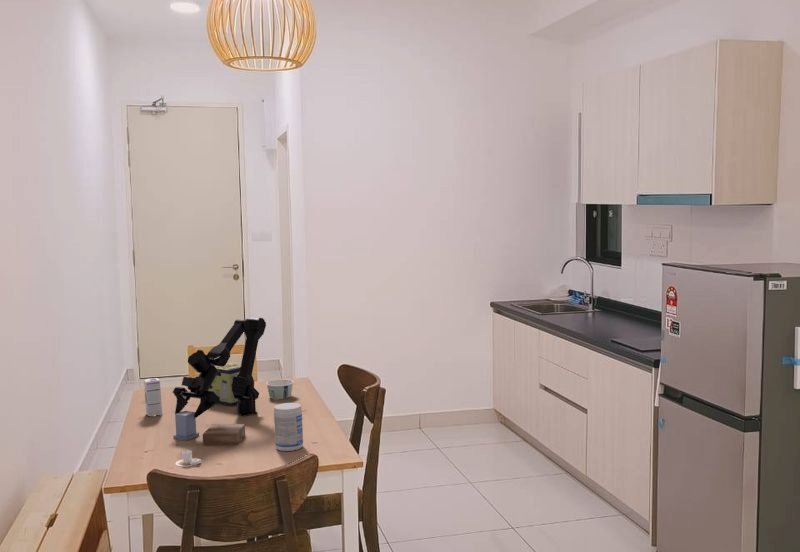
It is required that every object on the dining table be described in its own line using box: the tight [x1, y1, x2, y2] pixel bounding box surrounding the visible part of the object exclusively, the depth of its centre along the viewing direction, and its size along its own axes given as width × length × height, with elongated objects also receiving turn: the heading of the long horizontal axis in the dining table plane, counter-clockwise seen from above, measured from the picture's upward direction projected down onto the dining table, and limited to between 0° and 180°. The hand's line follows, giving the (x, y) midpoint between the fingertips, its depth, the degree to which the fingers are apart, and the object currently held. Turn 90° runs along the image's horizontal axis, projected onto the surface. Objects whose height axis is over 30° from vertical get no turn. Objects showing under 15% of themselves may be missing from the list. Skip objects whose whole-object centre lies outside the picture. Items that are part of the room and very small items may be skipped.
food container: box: [265, 378, 294, 400], centre depth 330 cm, size 12×12×6 cm
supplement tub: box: [273, 402, 304, 452], centre depth 260 cm, size 10×10×15 cm
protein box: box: [208, 362, 241, 407], centre depth 324 cm, size 10×16×16 cm
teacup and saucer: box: [174, 449, 202, 468], centre depth 247 cm, size 9×8×4 cm
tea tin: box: [172, 410, 200, 442], centre depth 275 cm, size 6×6×9 cm
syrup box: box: [143, 377, 163, 417], centre depth 305 cm, size 6×6×14 cm
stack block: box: [202, 423, 246, 446], centre depth 270 cm, size 12×12×4 cm
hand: (185, 415), depth 274 cm, fingers open, 9 cm apart
